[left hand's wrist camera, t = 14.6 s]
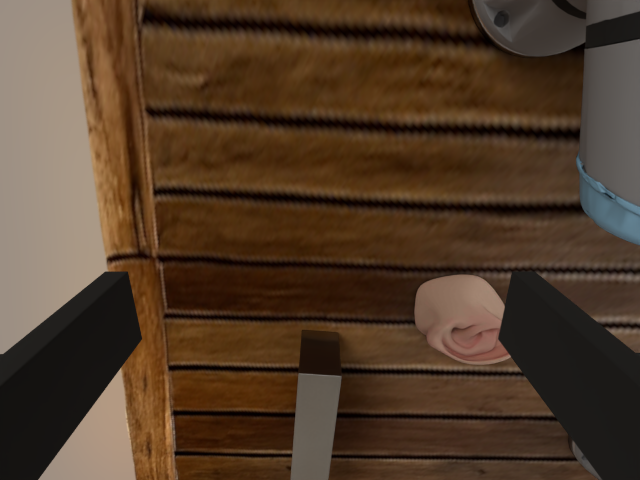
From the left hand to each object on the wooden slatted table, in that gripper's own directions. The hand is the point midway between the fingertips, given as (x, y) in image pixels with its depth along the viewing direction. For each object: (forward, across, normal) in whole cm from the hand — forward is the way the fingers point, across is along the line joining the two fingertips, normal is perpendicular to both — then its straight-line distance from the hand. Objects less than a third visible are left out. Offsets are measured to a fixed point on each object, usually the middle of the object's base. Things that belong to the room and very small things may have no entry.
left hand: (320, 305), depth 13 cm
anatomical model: (+30, +18, -20) cm, 41 cm away
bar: (+30, -1, -34) cm, 45 cm away
